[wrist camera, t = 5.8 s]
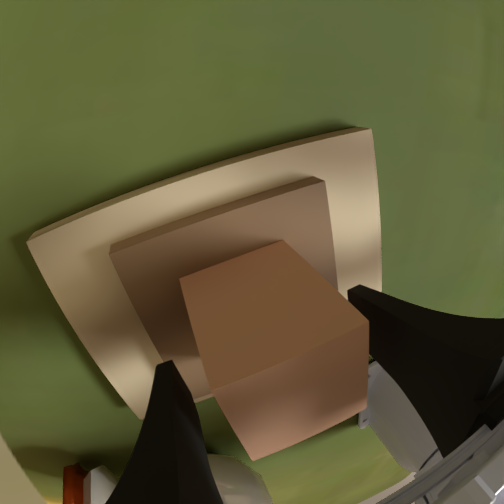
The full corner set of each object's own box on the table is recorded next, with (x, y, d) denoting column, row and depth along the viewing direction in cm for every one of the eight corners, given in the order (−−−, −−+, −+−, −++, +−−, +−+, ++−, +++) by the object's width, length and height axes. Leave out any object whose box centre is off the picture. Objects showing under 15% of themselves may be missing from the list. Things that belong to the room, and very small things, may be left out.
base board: (370, 313, 20) (389, 331, 18) (138, 405, 18) (141, 432, 16) (356, 126, 15) (385, 131, 13) (34, 232, 12) (18, 251, 10)
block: (299, 320, 16) (366, 408, 10) (212, 355, 15) (252, 461, 10) (283, 239, 13) (368, 320, 8) (179, 278, 13) (210, 390, 7)
